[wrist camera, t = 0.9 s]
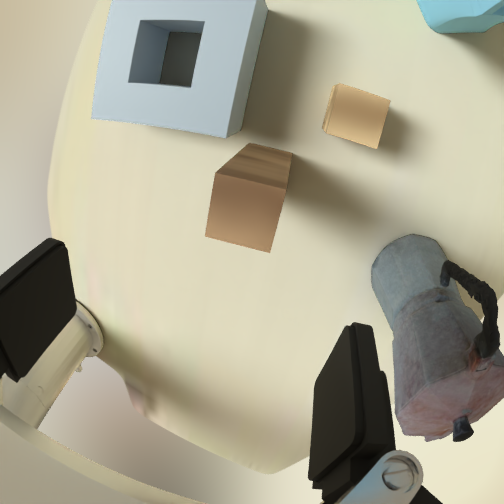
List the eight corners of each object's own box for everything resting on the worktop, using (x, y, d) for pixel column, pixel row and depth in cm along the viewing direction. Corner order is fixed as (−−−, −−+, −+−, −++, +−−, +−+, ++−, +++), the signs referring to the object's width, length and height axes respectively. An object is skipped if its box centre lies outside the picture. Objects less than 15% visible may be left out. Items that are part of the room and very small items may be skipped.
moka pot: (366, 327, 35) (387, 484, 17) (359, 204, 28) (426, 365, 11) (438, 315, 33) (490, 457, 15) (448, 194, 26) (573, 320, 9)
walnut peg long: (282, 193, 29) (269, 253, 19) (240, 183, 29) (204, 236, 19) (292, 153, 27) (286, 189, 17) (249, 142, 27) (215, 172, 17)
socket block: (240, 130, 27) (225, 138, 22) (125, 112, 27) (91, 118, 22) (268, 9, 21) (259, -12, 16) (146, 2, 21) (115, -12, 16)
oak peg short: (364, 140, 26) (376, 149, 21) (322, 127, 26) (326, 133, 21) (375, 100, 24) (390, 100, 19) (332, 86, 24) (339, 83, 19)
